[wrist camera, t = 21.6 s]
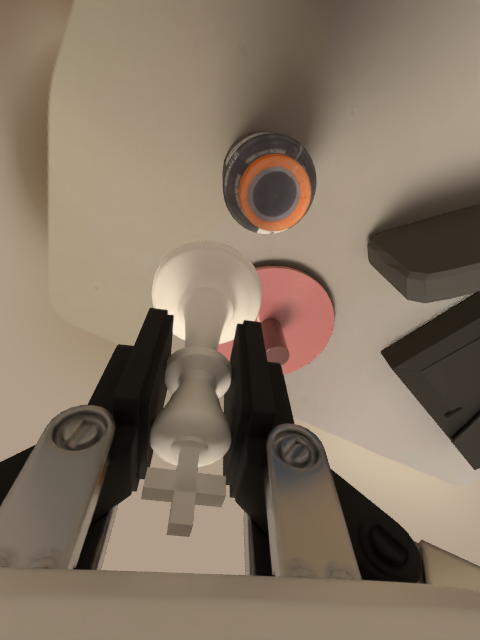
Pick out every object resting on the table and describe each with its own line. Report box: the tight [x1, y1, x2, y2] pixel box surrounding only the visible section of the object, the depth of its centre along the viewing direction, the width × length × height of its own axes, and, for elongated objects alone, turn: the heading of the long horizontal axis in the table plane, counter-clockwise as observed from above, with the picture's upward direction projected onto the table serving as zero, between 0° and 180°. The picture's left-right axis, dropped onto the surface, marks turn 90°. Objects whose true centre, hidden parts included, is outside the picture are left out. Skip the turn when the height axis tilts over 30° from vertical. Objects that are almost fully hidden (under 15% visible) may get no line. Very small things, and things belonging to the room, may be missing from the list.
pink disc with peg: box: [217, 266, 334, 374], centre depth 33 cm, size 14×14×6 cm
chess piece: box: [141, 241, 262, 537], centre depth 10 cm, size 5×5×10 cm
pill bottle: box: [223, 132, 316, 234], centre depth 22 cm, size 6×6×11 cm
